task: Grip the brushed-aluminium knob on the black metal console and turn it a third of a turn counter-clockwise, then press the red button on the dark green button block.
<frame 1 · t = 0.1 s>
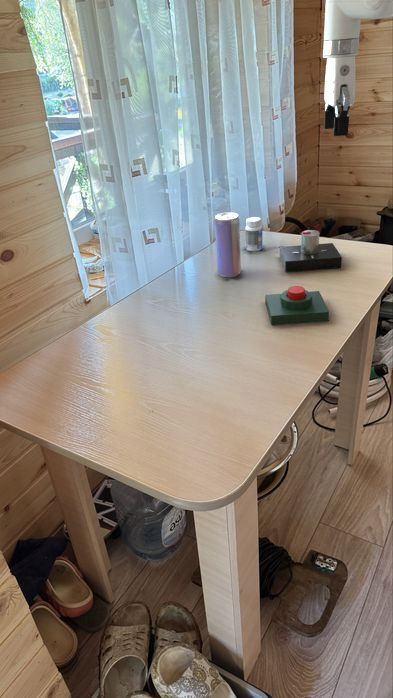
hand: (335, 131, 122), 30 cm above the table, tool pointing down, fingers open, 9 cm apart
pill bottle: (254, 249, 145), on the table
beverage can: (229, 274, 132), on the table
button block: (295, 311, 112), on the table
button: (296, 293, 109), point 5 cm above the table, slide at 0.2 cm
knob: (310, 241, 130), point 6 cm above the table, hinge at 0.0°
console: (309, 262, 133), on the table
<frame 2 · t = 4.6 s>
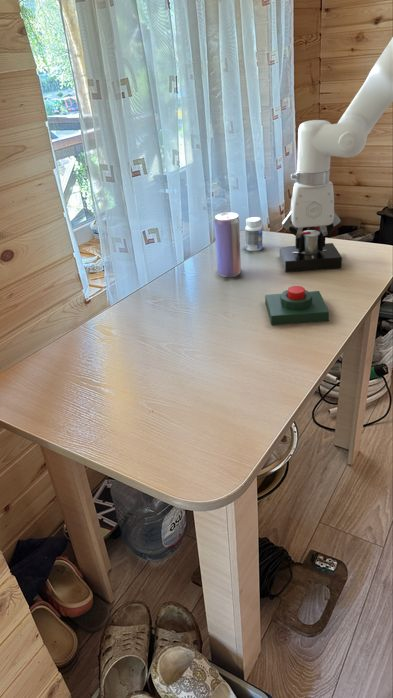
hand: (309, 249, 131), 4 cm above the table, tool pointing down, fingers closed on knob, 4 cm apart
knob: (310, 241, 130), point 6 cm above the table, hinge at 0.1°, touching gripper
everything else where it was.
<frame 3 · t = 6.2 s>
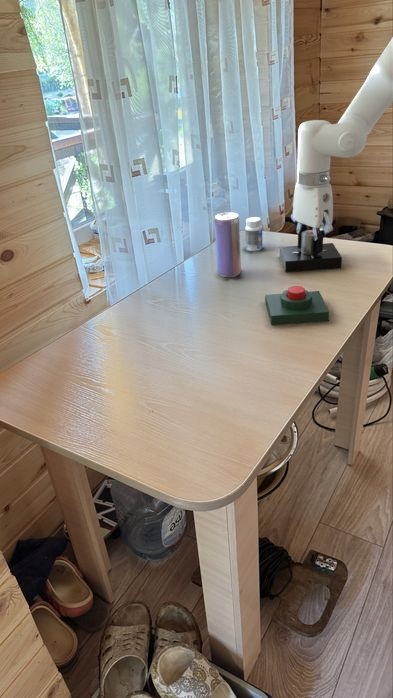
hand: (309, 249, 131), 4 cm above the table, tool pointing down, fingers closed on knob, 4 cm apart
knob: (310, 241, 130), point 6 cm above the table, hinge at 120.0°, touching gripper
everything else where it was.
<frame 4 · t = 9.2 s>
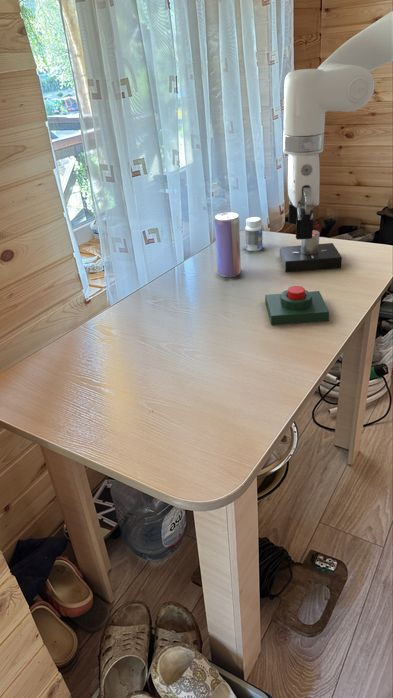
hand: (299, 230, 107), 17 cm above the table, tool pointing down, fingers open, 9 cm apart
knob: (310, 241, 130), point 6 cm above the table, hinge at 119.6°
everything else where it was.
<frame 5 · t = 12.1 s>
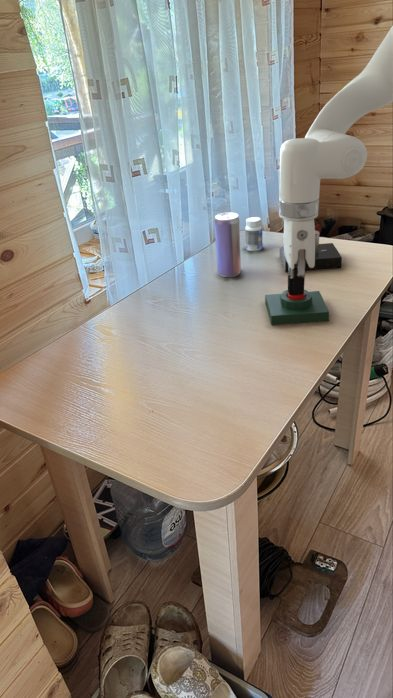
hand: (295, 293, 109), 5 cm above the table, tool pointing down, fingers closed
button: (296, 296, 110), point 4 cm above the table, slide at -0.7 cm, touching gripper
everything else where it was.
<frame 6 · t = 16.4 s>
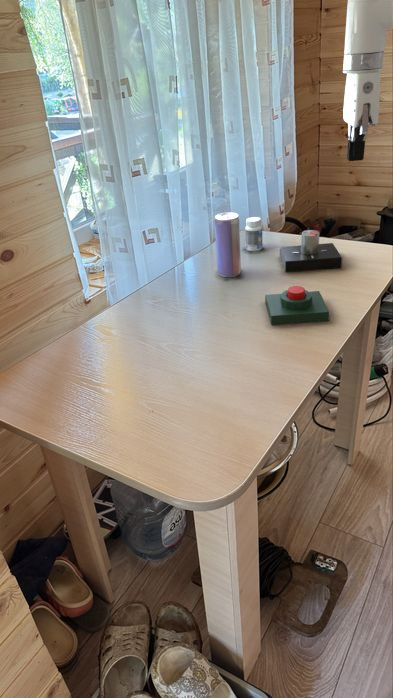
hand: (355, 159, 111), 27 cm above the table, tool pointing down, fingers closed
button: (296, 293, 109), point 5 cm above the table, slide at 0.1 cm
everything else where it was.
at the end: knob at +120° (first picture: +0°); button pushed in 1.1 cm at the most during the clip, back to where it started at the end; button slide at 0.1 cm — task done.
